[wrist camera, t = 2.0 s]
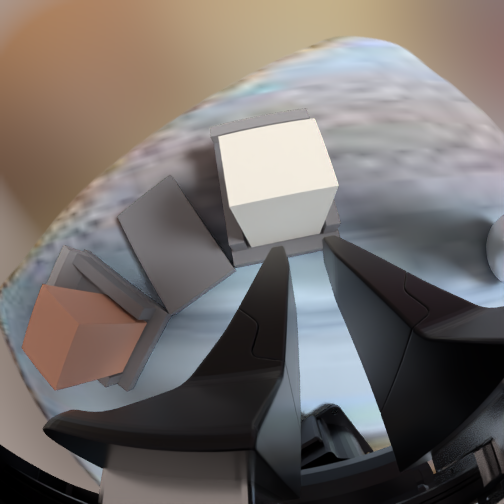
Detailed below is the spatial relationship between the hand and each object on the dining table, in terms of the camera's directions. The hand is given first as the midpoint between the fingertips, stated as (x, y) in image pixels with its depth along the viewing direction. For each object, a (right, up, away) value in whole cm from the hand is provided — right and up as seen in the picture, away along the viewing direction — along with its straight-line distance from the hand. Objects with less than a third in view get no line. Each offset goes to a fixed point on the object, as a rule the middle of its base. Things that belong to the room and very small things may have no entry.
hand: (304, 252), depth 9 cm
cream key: (0, +3, +11) cm, 11 cm away
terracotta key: (-13, -7, +11) cm, 18 cm away
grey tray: (-7, -1, +13) cm, 15 cm away
